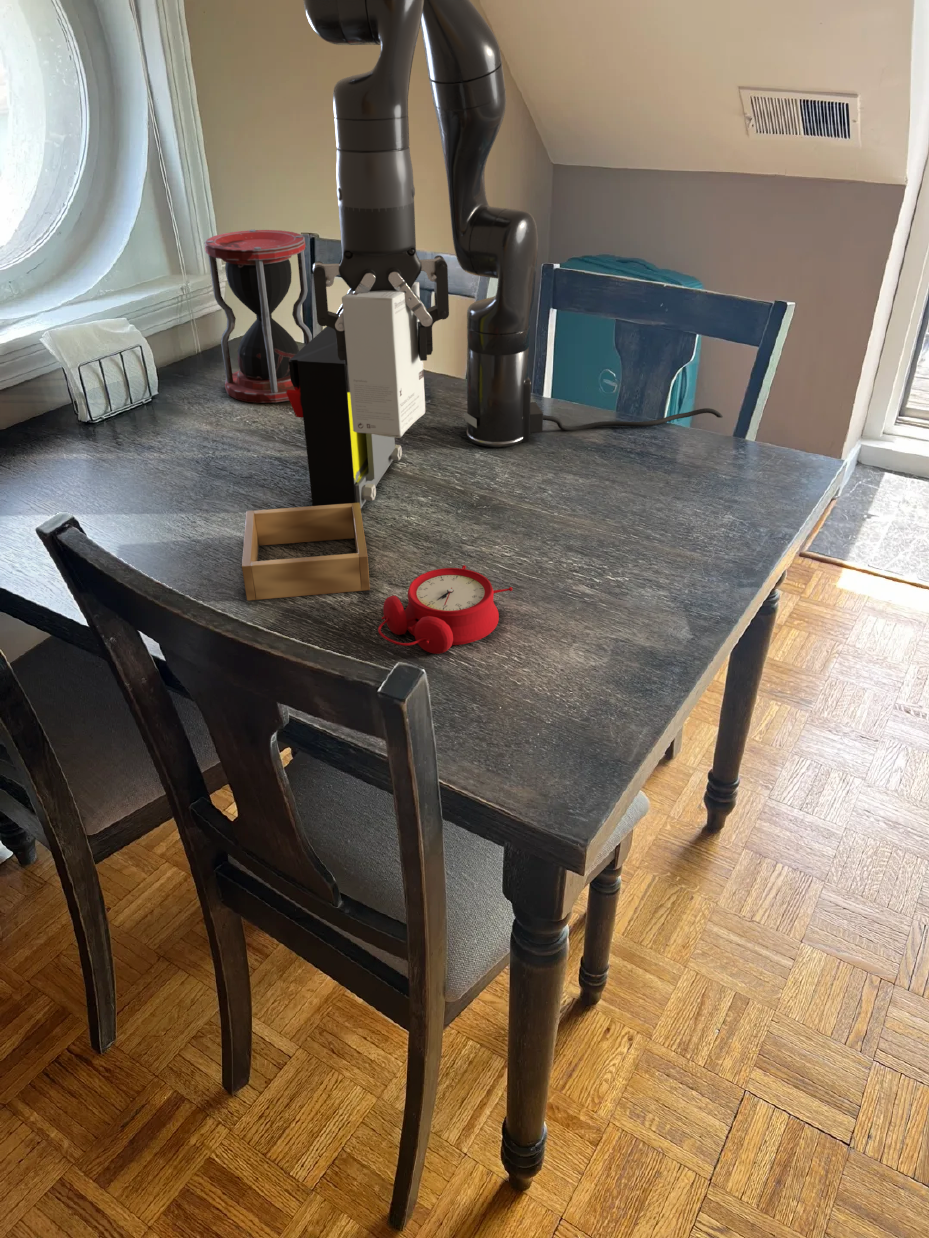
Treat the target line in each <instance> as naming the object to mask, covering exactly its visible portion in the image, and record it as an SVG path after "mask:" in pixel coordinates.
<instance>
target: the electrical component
mask: <svg viewBox="0 0 929 1238" xmlns="http://www.w3.org/2000/svg"><path fill="white" fill-rule="evenodd" d="M289 368H290V378H291V382H292V384H293V386H294V388H295V390H287V392H286V393H287V396H288V398H289V403H290V406H291V408H292V410H293V413H294V414H295V417H296V418H302V419H303V421H302V422H303V427H304V428H303V429H304V439H305V447H306V449H305V450H306V458H307V465H308V467H307V468H308V476H309V487H310V495H311V504H312V505H311V506H322V505H335V504H349V503H360V508H361V509H362V508H363V506H364V505H365V504H366V502H368V501H370V502H373V501H374V500H375V499H376V496H377V488H376V487H377V485H378V484H379V482H380V481H381V480H382V478H383V476H384V474H385V473H386V471H387V470H388V468H389V466H391V464H392V463H393V461H400V460H401V458H402V455H403V450H402V446H401V444H396V440H395V439H396V438H394V437H387V436H380V435H375V434H369V433H358V432H354V431H353V420H352V409H351V398H350V386H349V375H348V365H347V366H345V360H340V359H339V357H338V351H337V340H336V332H335V330H334V329H333V328H331V327H328V326H324V328H323V329H322V330H321V331H320V332H319V333H317V335H315V336H314V337H312V340H311V341H310V342H309V343H308V344H307V345H306V344H305V345H304V346H303V347H302V348H301V349H300V350H299V352H298V353H297V354H296V355H294V356H293V357H292V358H291V359H290V361H289Z"/></svg>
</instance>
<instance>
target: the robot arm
mask: <svg viewBox="0 0 929 1238" xmlns="http://www.w3.org/2000/svg"><path fill="white" fill-rule="evenodd" d="M303 7H304V13H305V16H306V19H307V20H308V23H309V25H310V27H311V29H312V30H313V31H314V32H315V34H316V35H317V36H318V37H319V38H320V39H322V40H323V41H325V42H326V43H329V44H331V45H336V46H337V45H338V46H380V51H379V55H378V58H377V61H376V63H375V65H374V67H373V68H372V69H371V70H369V71H366V72H362V73H359V74H353V75H350V76H346V77H343V78H342V79H340V80H338V81H337V82H336V84H335V85H334V87H333V90H332V91H333V92H332V106H333V107H332V108H333V117H334V118H333V119H334V131H335V143H336V144H335V146H336V163H335V164H336V165H335V166H336V167H335V179H336V197H337V205H338V217H339V218H338V219H339V231H340V242H341V257H340V260H339V262H338V263H323V262H322V261H321V260H320V261H317V260H316V261H315V262H314V263H313V264H312V274H313V287H314V288H313V289H314V298H315V299H314V301H315V312H316V313H315V314H316V322H317V324H318V325H319V326H320V327H327V326H328V327H331V328H333V329H334V330H335V332H336V340H337V351H338V357H339V359H340V360H345V366H347V365H348V364H347V352H346V341H345V330H344V318H343V307H342V304H341V305H340V307H338V310H337V312H333V311H329V303H328V292H327V288H329V287H332V286H333V284H334V282H335V278H336V277H337V276H339V277H340V278H341V279H342V280H343V282H344V283H345V284H346V285H347V287H349V289H348V291H347V293H346V294H348V293H350V292H351V291H353V294H359V293H368V292H369V291H382V290H396V291H397V292H403V293H404V291H405V293H404V294H405V303H406V304H407V305H408V307H409V308H410V309H411V311H413V313H414V314H415V315H416V317H417V318H418V319H419V322H417V327H418V351H419V358H420V361H423V362H424V361H428V356H432V354H433V350H434V347H433V326H434V325H435V323H436V322H438V321H440V320H442V321H443V320H447V319H448V318H449V316H450V304H449V303H450V302H449V301H450V300H449V298H450V297H449V271H448V270H449V269H448V268H449V267H448V263H447V261H446V260H445V258H444V257H443V256H442V255H440V254H439V255H436V256H434V258H428V259H427V258H426V259H420V258H419V256H418V253H417V243H416V240H417V239H416V214H415V212H416V211H415V195H416V187H415V184H414V171H413V163H412V157H411V149H410V148H411V147H410V128H409V127H410V125H409V91H410V81H411V75H412V74H411V73H412V67H413V61H414V55H415V50H416V47H417V41H418V38H419V37H418V36H419V33H420V31H421V38H422V43H423V49H424V55H425V63H426V70H427V76H428V81H429V87H430V92H431V98H432V103H433V109H434V112H435V117H436V122H437V125H438V131H439V137H440V141H441V142H440V143H441V149H442V154H443V162H444V168H445V174H446V183H447V191H448V202H449V203H448V205H449V214H450V226H451V227H450V228H451V236H452V244H453V250H454V253H455V257H456V260H457V262H458V265H459V266H460V268H461V270H463V271H464V272H465V273H467V274H469V275H473V276H478V277H484V278H485V277H486V278H490V279H497V286H496V293H495V295H494V296H490V297H487V298H483V299H479V300H477V301H474V302H473V303H471V304H470V305H469V306H468V307H467V311H466V407H467V408H466V411H467V412H466V411H464V421H465V422H466V428H467V429H466V438H467V440H469V442H471V443H473V444H476V445H478V446H482V447H488V448H489V447H490V448H507V447H512V446H516V445H519V444H521V443H525V442H530V437H531V436H530V435H531V434H532V433H543V429H544V428H543V427H544V421H549V422H553V423H555V424H556V425H557V427H558V428H559V429H560V430H562V431H565V432H576V431H583V430H589V429H593V428H599V427H633V428H636V427H639V428H640V427H651V426H657V425H661V424H666V423H669V422H672V421H674V420H679V419H685V418H689V417H694V416H697V415H702V414H710V415H713V416H715V417H716V418H723V415H722V414H721V412H719V411H718V410H716V409H714V408H709V407H706V408H705V407H704V408H698V409H694V410H691V411H687V412H681V413H676V414H672V415H668V416H665V417H662V418H659V419H653V420H647V421H621V420H620V421H619V420H606V421H605V420H604V421H596V422H595V421H594V422H592V423H586V424H583V425H578V426H577V425H576V426H570V425H569V426H568V425H564V424H563V421H562V420H561V419H560V418H558V417H556V416H552V415H545V414H544V412H543V411H542V409H541V408H540V406H539V405H538V402H537V401H536V402H535V401H533V402H532V399H531V398H532V381H531V379H530V377H529V358H530V357H529V356H530V355H529V353H530V326H531V315H532V310H533V305H534V300H535V288H536V276H537V275H536V273H537V265H538V264H537V263H538V254H539V253H538V251H539V233H538V226H537V223H536V220H535V218H534V216H533V215H532V214H531V213H530V212H529V211H527V210H522V209H517V208H516V209H515V208H509V207H508V208H507V207H499V206H497V207H496V206H490V204H489V201H488V199H487V194H486V193H487V192H486V184H485V183H486V182H485V170H486V164H487V161H488V158H489V155H490V153H491V150H492V148H493V146H494V144H495V141H496V139H497V136H498V134H499V131H500V129H501V127H502V124H503V121H504V117H505V114H506V110H507V109H506V108H507V89H506V81H505V75H504V66H503V59H502V53H501V47H500V43H499V42H498V39H497V37H496V35H495V33H494V32H493V30H492V28H491V27H490V25H489V24H488V22H487V20H486V19H485V18H484V16H482V14H481V13H480V12H479V10H478V9H477V7H476V6H475V5H474V4H473V2H472V1H471V0H303ZM421 272H425V273H426V276H427V279H428V280H429V281H430V282H432V283H433V292H434V293H433V296H434V305H433V306H430V307H428V308H427V306H426V305H425V304H424V303H423V301H422V300H421V298H420V299H419V297H418V295H417V294H416V293H415V292H414V293H413V292H412V290H411V287H412V285H413V284H414V282H417V279H418V278H419V276H420V275H421ZM409 298H411V299H409Z"/></svg>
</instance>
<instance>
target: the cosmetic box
mask: <svg viewBox="0 0 929 1238" xmlns="http://www.w3.org/2000/svg"><path fill="white" fill-rule="evenodd" d="M411 290H412V292H413V293H414V292H415V293H416V294H417V295H418V297H419V299H420V300H421V298H420V295H421V294H420V282H419V281H415V282H414V284H413V285H412V287H411ZM347 293H348V292H347ZM347 293H346V294H345V295H343V296H342V297H341V305H342V307H343V318H344V330H345V341H346V352H347V364H348V375H349V386H350V398H351V409H352V420H353V431H354V432H358V433H369V434H375V435H380V436H387V437H394V438H395V439H400V438H402V437H403V435H404V434H405V433H406V432H407V431H408V429H410V428H411V426H412V425H413V424H414V423H416V422H417V421H418V420H419V419H421V417H422V416H424V415H425V413H426V396H425V395H426V394H425V374H424V361H420V358H419V351H418V327H417V322H419V319H418V318H417V317H416V315H415V314H414V313H413V311H411V309H410V308H409V307H408V305H407V304H406V303H405V294H404V293H405V291H404V293H403V292H397V291H396V290H382V291H369V292H368V293H359V294H353V291H351V292H350V293H348V294H347ZM409 299H411V298H409Z"/></svg>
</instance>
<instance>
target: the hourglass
mask: <svg viewBox="0 0 929 1238" xmlns="http://www.w3.org/2000/svg"><path fill="white" fill-rule="evenodd" d="M203 244H204V250H205V253H206V254H207V256H208V263H209V270H210V277H211V285H212V291H213V298H214V299H215V301H216V303H217V305H218V306H219V307H220V308H221V309H222V310H223V311H224V314H225V316H226V327H225V330H224V331H223V333H222V334H221V339H220V345H221V352H222V360H223V366H224V373H225V381H224V386H225V387H224V388H225V392H226V393H227V395H228V396H229V397H231V398H233V399H236V400H238V401H242V402H246V403H256V404H257V403H258V404H267V403H268V404H272V403H273V404H274V403H282V402H290V400H289V398H288V396H287V393H286V392H287V390H295V388H294V386H293V384H292V382H291V378H290V368H289V361H290V359H291V358H292V357H293V356H294V355H296V354H297V353H298V352H299V351H300V350H299V345H298V343H297V342H296V340H295V339H294V338H293V336H292V335H291V334H290V333H289V332H288V331H287V330H286V329H285V328H284V327H283V326H282V325H280V324H279V323H278V322H277V321H276V320H275V319H274V318H273V315H272V314H273V313H274V312H275V310H276V309H277V308H278V307H279V305H280V304H281V303H282V302H283V300H284V299H285V298H286V296H287V294H288V293H289V290H290V287H291V285H292V273H293V272H292V265H291V261H290V259H291V258H292V256H295V255H296V256H297V265H298V267H297V268H298V277H299V288H300V291H299V294H298V298H297V300H296V301H295V302H294V303H293V306H292V313H291V315H292V318H293V321H294V324H295V325H296V326H297V327H298V328H299V329H300V330H301V332H302V333H303V335H304V340H305V346H306V345H307V344H308V343H309V342H310V341H311V340H312V339H313V335H312V332H311V330H310V328H309V327H308V326H307V325H306V324H305V323H304V321H303V318H302V314H301V313H302V305H303V303H304V302H305V300H306V299H307V295H308V292H309V291H308V280H307V279H308V278H307V269H306V259H305V250H306V240H305V236H304V235H303V234H301V233H298V232H294V231H286V230H280V229H279V230H277V229H249V230H237V231H230V232H224V233H220V234H216V235H213V236H211V237H209V238H206V240H205V241H204V243H203ZM217 259H218V260H222V261H223V262H225V266H224V269H225V270H224V271H225V277H226V281H227V285H228V287H229V288H230V290H231V292H232V293H233V295H234V296H235V297H236V298H237V299H238V300H239V301H240V303H242V304H243V305H244V306H245V307H247V309H249V310H250V311H251V312H252V313H254V314H255V317H256V319H255V320H254V322H253V323H252V324H251V325H250V327H249V328H248V329H247V330H246V332H245V333H244V335H243V336H242V338H241V339H240V342H239V345H238V348H237V365H238V368H239V370H237V371H234V372H233V370H232V369H233V368H232V360H231V355H230V348H229V340H230V336H231V334H232V333H233V331H234V330H235V327H236V321H237V320H236V319H237V318H236V316H235V313H234V310H233V308H232V307H231V306H230V305H228V304H227V303H226V301H225V300H224V298H223V296H222V291H221V285H220V284H221V283H220V277H219V271H218V270H219V269H218V263H217Z"/></svg>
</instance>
